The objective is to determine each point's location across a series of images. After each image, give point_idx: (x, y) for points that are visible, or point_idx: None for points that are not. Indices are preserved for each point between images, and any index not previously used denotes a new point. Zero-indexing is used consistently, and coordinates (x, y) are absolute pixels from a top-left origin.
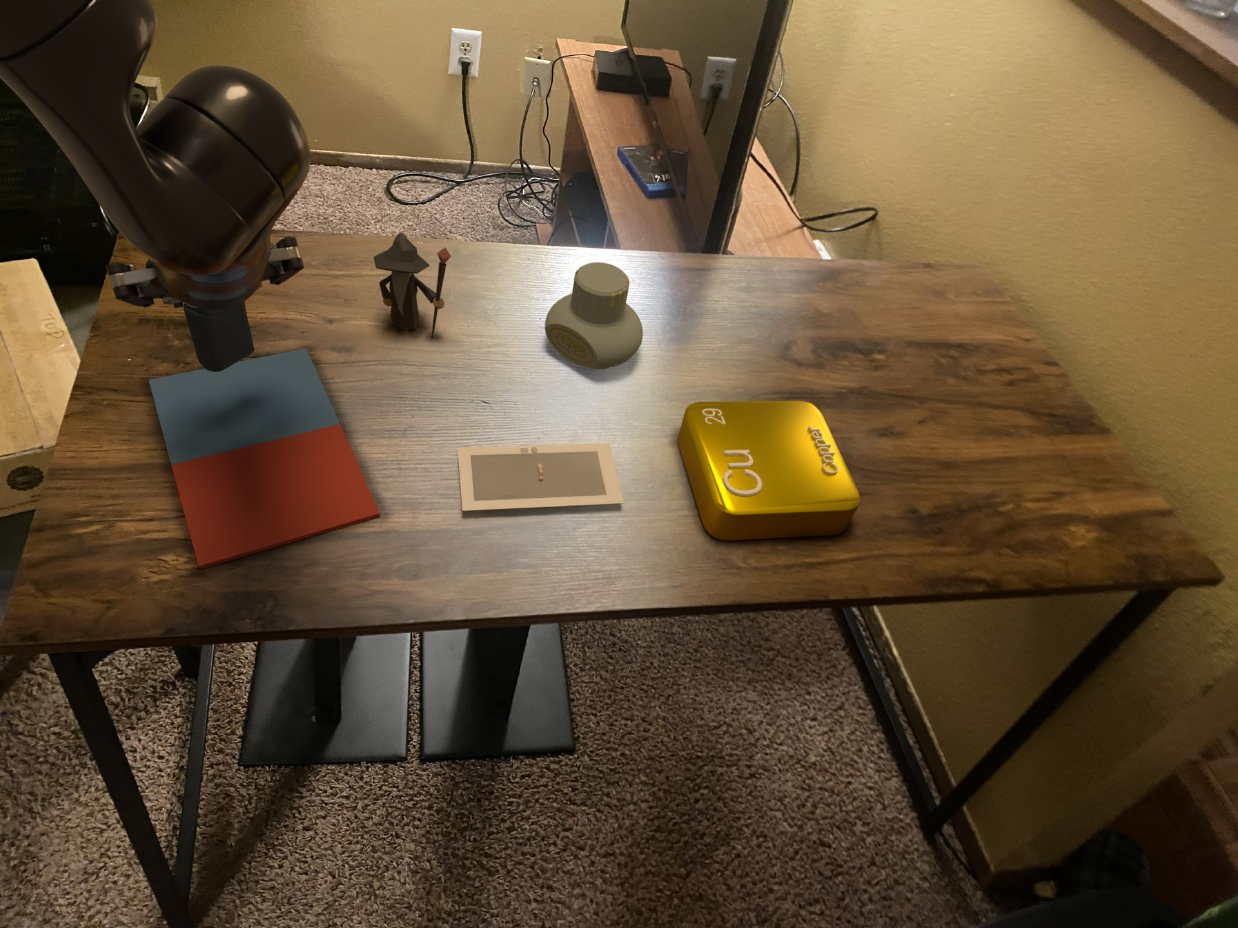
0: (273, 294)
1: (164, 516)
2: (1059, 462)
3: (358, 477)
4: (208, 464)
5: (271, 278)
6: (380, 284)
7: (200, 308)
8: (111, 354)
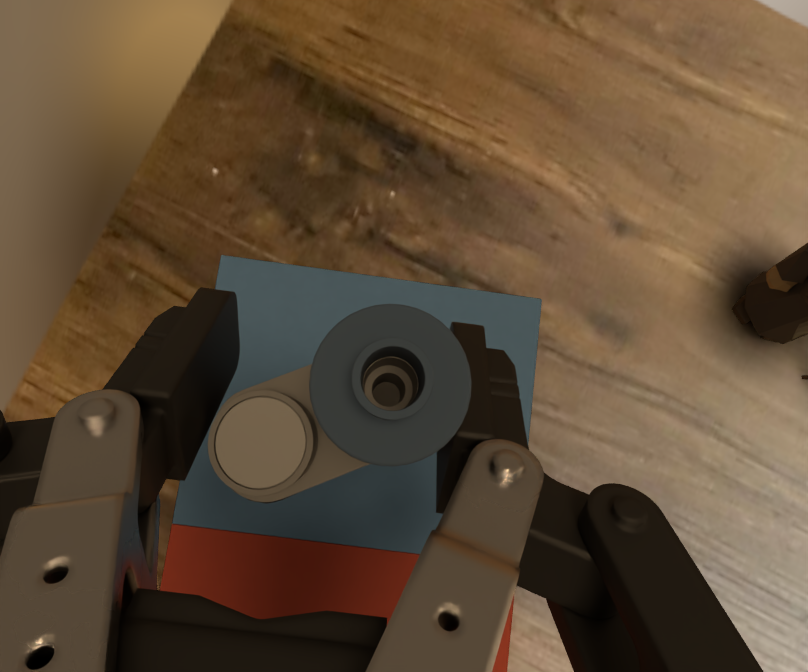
0: (542, 92)
1: None
2: None
3: None
4: (235, 558)
5: (564, 621)
6: (803, 254)
7: (252, 498)
8: (189, 140)
